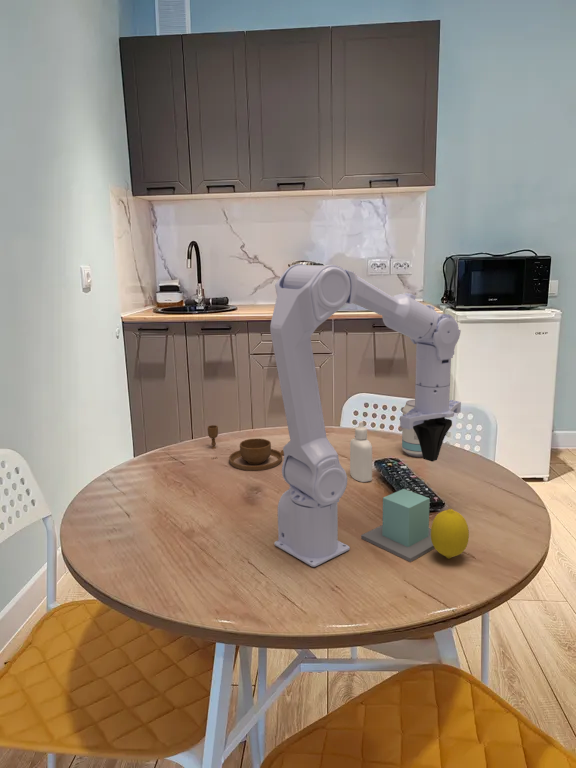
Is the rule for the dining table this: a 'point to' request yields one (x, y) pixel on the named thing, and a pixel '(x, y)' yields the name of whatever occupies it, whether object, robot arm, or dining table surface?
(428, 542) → the base
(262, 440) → the place setting
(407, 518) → the upright teal cuboid
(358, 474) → the eye dropper bottle
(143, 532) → the dining table surface
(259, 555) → the dining table surface
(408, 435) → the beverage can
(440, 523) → the lemon
